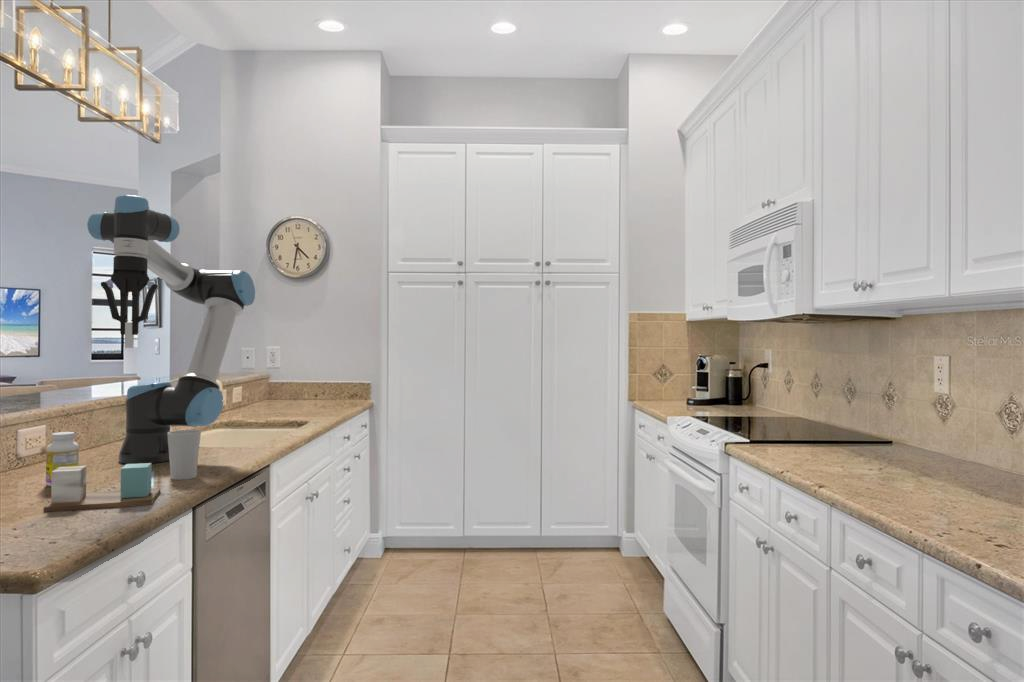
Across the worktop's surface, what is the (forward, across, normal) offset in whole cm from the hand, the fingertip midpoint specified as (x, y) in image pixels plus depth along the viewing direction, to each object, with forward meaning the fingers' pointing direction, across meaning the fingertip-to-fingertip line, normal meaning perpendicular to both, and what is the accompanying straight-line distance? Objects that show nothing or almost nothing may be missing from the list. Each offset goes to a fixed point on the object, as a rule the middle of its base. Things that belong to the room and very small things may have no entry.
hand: (129, 347), depth 162 cm
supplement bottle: (+35, -14, 0) cm, 37 cm away
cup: (+35, +13, +1) cm, 37 cm away
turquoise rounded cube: (+33, +6, -22) cm, 40 cm away
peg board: (+34, 0, -22) cm, 41 cm away
